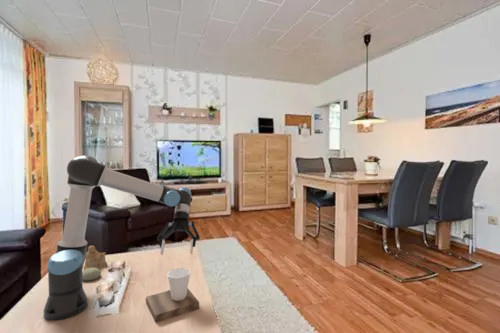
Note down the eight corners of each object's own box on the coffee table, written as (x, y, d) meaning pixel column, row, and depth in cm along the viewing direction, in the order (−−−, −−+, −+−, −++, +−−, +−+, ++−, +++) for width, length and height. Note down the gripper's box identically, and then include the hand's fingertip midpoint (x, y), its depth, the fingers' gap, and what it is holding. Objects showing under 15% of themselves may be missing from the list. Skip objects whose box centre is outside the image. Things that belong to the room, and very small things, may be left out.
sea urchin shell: (95, 268, 147) (100, 261, 144) (100, 281, 144) (104, 274, 140) (77, 274, 140) (81, 266, 137) (81, 287, 137) (85, 280, 133)
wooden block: (155, 322, 104) (155, 315, 103) (146, 303, 117) (146, 296, 117) (199, 308, 113) (199, 301, 113) (185, 292, 127) (185, 286, 127)
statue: (90, 244, 161) (104, 240, 159) (97, 266, 161) (110, 263, 158) (73, 251, 149) (87, 247, 147) (80, 275, 149) (94, 272, 147)
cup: (184, 305, 111) (185, 279, 110) (162, 302, 112) (162, 276, 112) (194, 292, 120) (194, 269, 120) (173, 290, 122) (173, 267, 122)
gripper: (206, 218, 143) (203, 256, 129) (158, 218, 141) (150, 257, 126) (205, 210, 138) (203, 249, 123) (155, 210, 135) (147, 250, 121)
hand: (176, 253), depth 125 cm, fingers open, 13 cm apart
